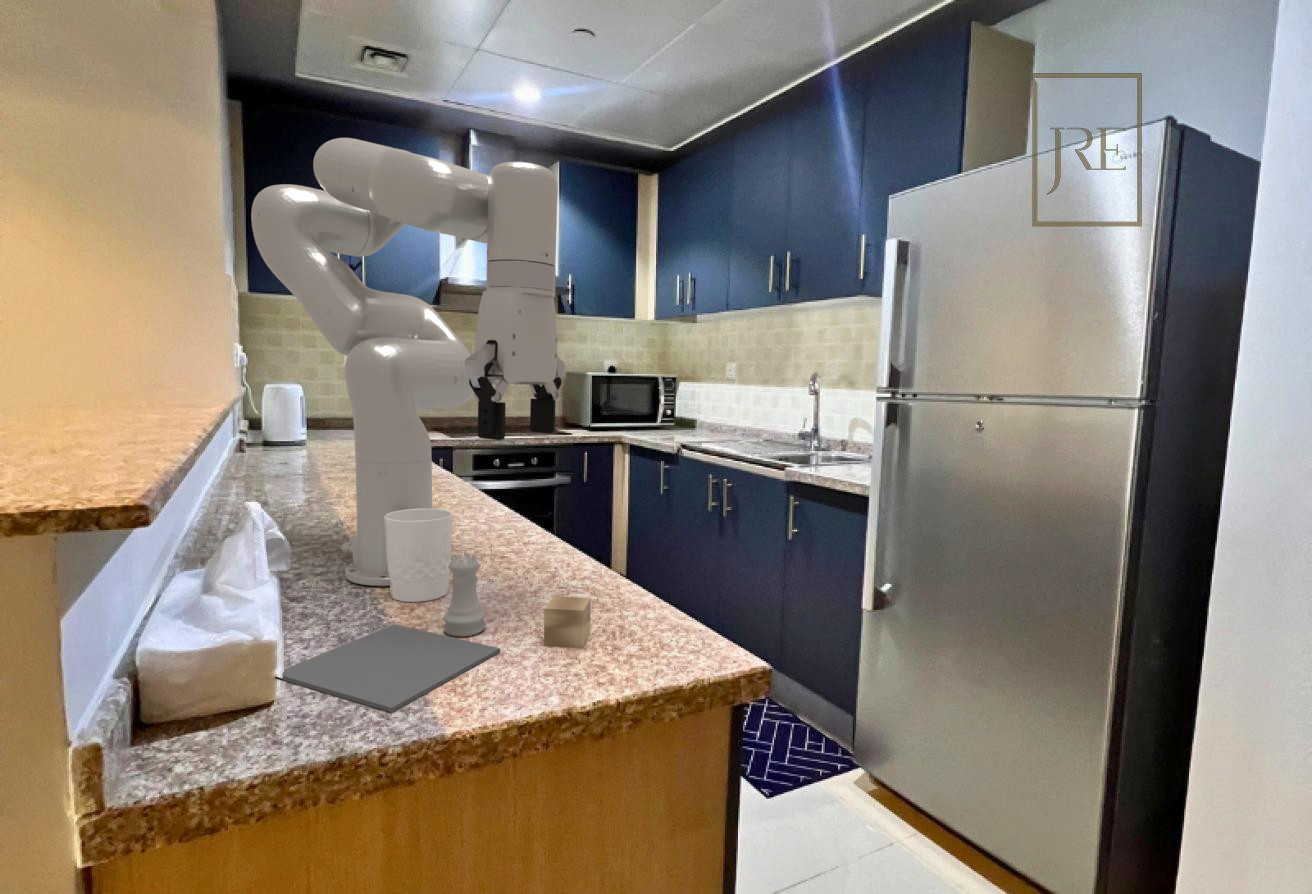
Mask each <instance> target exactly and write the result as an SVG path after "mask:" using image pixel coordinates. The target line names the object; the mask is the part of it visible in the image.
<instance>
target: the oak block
mask: <svg viewBox="0 0 1312 894" xmlns="http://www.w3.org/2000/svg"><path fill="white" fill-rule="evenodd" d="M591 602H592V601H591V597H579V596H577V597H575V596H554V595H553V596H552V598H551V599H550V600H549V602H548V603H547V605H546V606H545V607H544V608H543V613H544V614H543V615H544V616H543V618H544V619H543V626H544V627H543V647H552V646H556V648H569V647H571V648H573V649H584V647H585V645H586V643H587V641H588V639H589V637H590V635H591V607H592V606H591V605H592V604H591Z"/></svg>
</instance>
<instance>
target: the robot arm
mask: <svg viewBox="0 0 1312 894" xmlns="http://www.w3.org/2000/svg"><path fill="white" fill-rule="evenodd" d="M312 163H313V164H312V165H313V167H312V168H313V173H314V176H315V178H316V181H317V182H318V184H319V186H320V187H321V188H322V189H323V190H322V189H317V188H315V187H314V188H313V187H309V186H305V185H300V184H299V185H298V184H290V183H289V184H286V183H285V184H284V183H283V184H274V185H270V186H267V187H265V188H263V189H262V190H261V191H259V192H258V193H257V195H256V196H255V197H254V199H253V202H252V206H251V213H250V216H251V217H250V219H251V228H252V232H253V233H252V234H253V238H254V241H255V244H256V247H257V249H258V252H259V254H260V256H261V258H262V259H263V261H264V263H265V264H266V266H267V267H268V269H269V270H270V271H271V272H272V274H273V275H275V277H276V278H277V279H278V280H279V281H280V283H281V284H283V285H284V287H285V288H287V290H289V292H290V293H291V294H292V295H293V296H294V297H295V298H296V299H297V300H298V302H299V304H301V306H302V308H303V310H304V311H305V312H306V314H307V315H308V317H309V318H310V319H311V321H312V322H313V324H314V325H315V326H316V328H317V329H318V330H319V332H320V333H321V334H322V336H323V337H324V339H325V340H326V342H328V344H329V345H330V346H331V347H332V348H333V349H334V350H335V351H337V352H338V353H339V354H342V355H343V356H346V360H345V362H344V378H345V379H344V380H345V385H346V390H347V393H348V397H349V402H350V408H351V414H352V420H353V421H352V422H353V432H354V452H355V453H354V455H355V456H354V457H355V458H354V459H355V494H356V496H355V497H356V498H355V499H356V501H355V502H356V535H353V536H352V535H351V537H350V538H349V540H348V542H344V543H342V545H341V551H342V552H343V553H347V554H352V562H351V563H350V564H348V565H346V567H345V569H344V573H345V574H344V577H345V579H346V580H348V581H349V582H352V583H354V584H358V585H362V586H371V587H374V586H375V587H376V586H377V587H390V576H389V573H388V562H387V552H386V536H385V521H384V516H385V515H386V514H388V513H391V512H394V511H399V510H407V509H424V508H427V509H433V469H432V464H433V463H432V462H433V461H432V459H433V458H432V443H431V442H432V441H431V437H430V435H429V432H428V430H427V429H426V426H425V425H424V423H423V421H422V419H421V417H420V416H419V414H418V412H417V411H419V410H442V409H452V408H459V407H461V406H462V405H464V404H466V403H467V402H468V401H470V400H471V398H472V397H473V398H474V400H475V402H477V437H478V438H479V439H485V440H486V439H487V440H497V441H502V440H504V439H505V437H506V402H504V401H503V402H502V399H503V397H504V396H505V394H506V392H507V391H508V388H509V387H510V385H528V386H529V388H530V390H531V392H532V395H533V397H534V398H530V407H529V408H530V409H529V411H530V414H529V415H530V416H529V431H530V432H532V433H538V434H541V433H542V434H550V435H551V434H554V433H555V430H556V402H557V400H558V398H559V389H560V388H561V386H562V382H563V381H562V378H563V376H564V372H565V369H566V364H565V362H564V361H563V360H562V359H561V358H560V357H559V356H558V329H557V328H558V327H557V326H558V325H557V314H556V305H555V298H556V270H557V269H556V263H557V262H556V261H557V260H556V259H557V256H556V255H557V225H558V223H557V221H558V180H557V178H556V175H555V174H554V172H553V171H551V170H550V169H549V168H547V167H545V166H543V165H539V164H536V163H531V162H524V161H507V162H506V161H505V162H501V163H498V164H496V165H495V166H493V167H492V169H491V170H490V172H489V174H485V173H480V171H479V172H478V171H475V170H473V169H470V168H466V167H464V166H461V165H457V164H454V163H451V162H447V161H444V160H441V159H437V158H435V157H430V156H426V155H422V154H418V153H413V152H411V151H408V150H405V149H400V148H394V147H391V146H387V145H384V144H378V143H375V142H369V141H366V140H361V139H357V138H351V137H339V138H338V137H337V138H333V139H331V140H328V141H326V142H324V143H323V144H322V145H320V146H319V148H318V149H317V150H316V152H315V155H314V157H313V162H312ZM406 225H408V226H411V227H413V228H417V229H420V230H424V231H427V232H428V231H429V232H434V233H438V234H442V235H447V236H452V237H457V238H462V239H465V240H470V241H473V242H477V243H482V244H486V284H485V285H486V286H485V287H486V290H484V291H482V294H481V299H480V303H479V307H478V313H477V319H476V329H475V337H474V338H475V340H474V352H473V353H472V354H471V353H470V352H469V350H468V348H467V347H466V346H465V344H464V343H463V342H462V341H461V339H459V337H458V336H457V335H456V334H455V332H454V331H453V330H452V329H451V328H450V326H449V325H448V324H447V323H446V321H445V320H444V319H443V318H442V317H441V316H440V314H439V313H438V312H437V311H436V310H435V309H434V308H433V306H431V305H430V304H429V303H428V302H426V301H424V300H422V299H420V298H418V297H416V296H412V295H409V294H403V293H397V292H387V291H381V290H376V289H373V288H370V287H368V286H367V285H365V283H363V282H362V281H361V280H360V278H359V277H358V276H357V275H356V274H355V272H354V271H353V269H352V268H351V267H350V266H349V265H348V264H346V263H345V262H344V261H343V260H341V258H338V257H337V256H336V255H334V254H340V255H346V256H352V257H360V258H361V257H367V256H368V257H370V256H371V255H373V254H375V253H377V252H378V251H380V250H381V249H382V248H383V247H384V246H385V245H386V244H387V243H388V242H389V241H390V240H391V239H392V238H393V237H394V236H395V235H397V233H398V232H399V231H400V230H402V229H403V228H404V227H405V226H406Z"/></svg>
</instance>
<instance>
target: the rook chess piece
mask: <svg viewBox="0 0 1312 894" xmlns="http://www.w3.org/2000/svg"><path fill="white" fill-rule="evenodd" d="M470 555H471V554H469V553H465V554H464V558H462V554H457V555H456V556H452V557H451V561H450V565H449V566H448V567H449V569H450V572H451V573H452V578H451V580H450V582H451V583H452V593H451V599H450V605H449V606H448V608H447V610H448V611H447V612H446V613H445V614H444V617H443V621H444V623H445V624H444V625H443V626H442V628H443V631H444V632H445V633H446V634H447V635H448V634H449V636H450V635H453V636H452V637H454V636H468V637H471V636H470V635H473V636H475V635H474V634H477V635H479V634H480V633H479V632H481V631H482V632H483V631H484V629H485V627H486V626H487V624H486V621H484V620H485V619H486V615H485V612H484V610H483V609H482V606H481V605H480V602H479V599H478V592H477V582H478V581H479V579H478V577H477V571H478V569H479V568H480V567H481V564H480V563H479V561H478V560H477V555H475V554H472V555H471V556H470ZM482 632H481V633H482ZM478 633H479V634H478Z"/></svg>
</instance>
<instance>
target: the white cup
mask: <svg viewBox="0 0 1312 894" xmlns="http://www.w3.org/2000/svg"><path fill="white" fill-rule="evenodd" d="M384 521H385V536H386V552H387V562H388V573H389V576H390V586H389V591H390V592H389V593H390V597H391V598H392V599H393V600H396V601H398V602H404V603H405V602H406V603H421V602H422V601H423V602H428V601H429V602H430V601H433V600H438V599H441V598H442V596H443V597H445V596H446V595H447V593H448V592H449V586H450V585H449V583H450V574H449V573H450V572H451V570H450V569H449V567H448V566H449V565H450V564H451V558H452V557H451V556H452V537H453V536H452V533H453V512H452V511H450V510H446V509H441V508H432V509H427V508H424V509H407V510H399V511H394V512H391V513H388V514H386V515H385V516H384Z"/></svg>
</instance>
